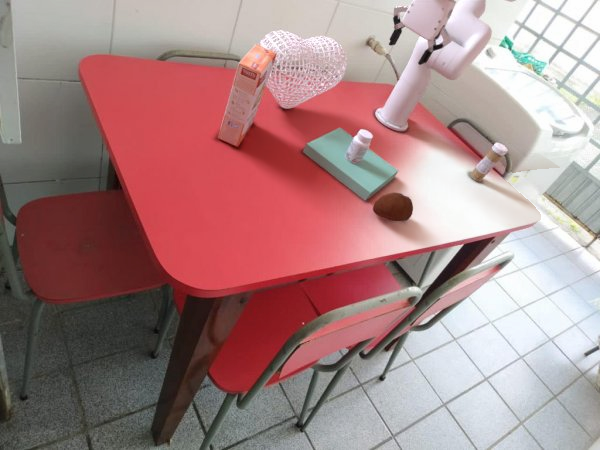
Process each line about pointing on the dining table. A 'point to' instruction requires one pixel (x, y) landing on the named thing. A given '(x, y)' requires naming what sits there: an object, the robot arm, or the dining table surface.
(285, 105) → the heart
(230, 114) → the cracker box
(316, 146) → the foam pad
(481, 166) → the sprinkles bottle
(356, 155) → the pill bottle
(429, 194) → the dining table surface
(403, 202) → the potato
